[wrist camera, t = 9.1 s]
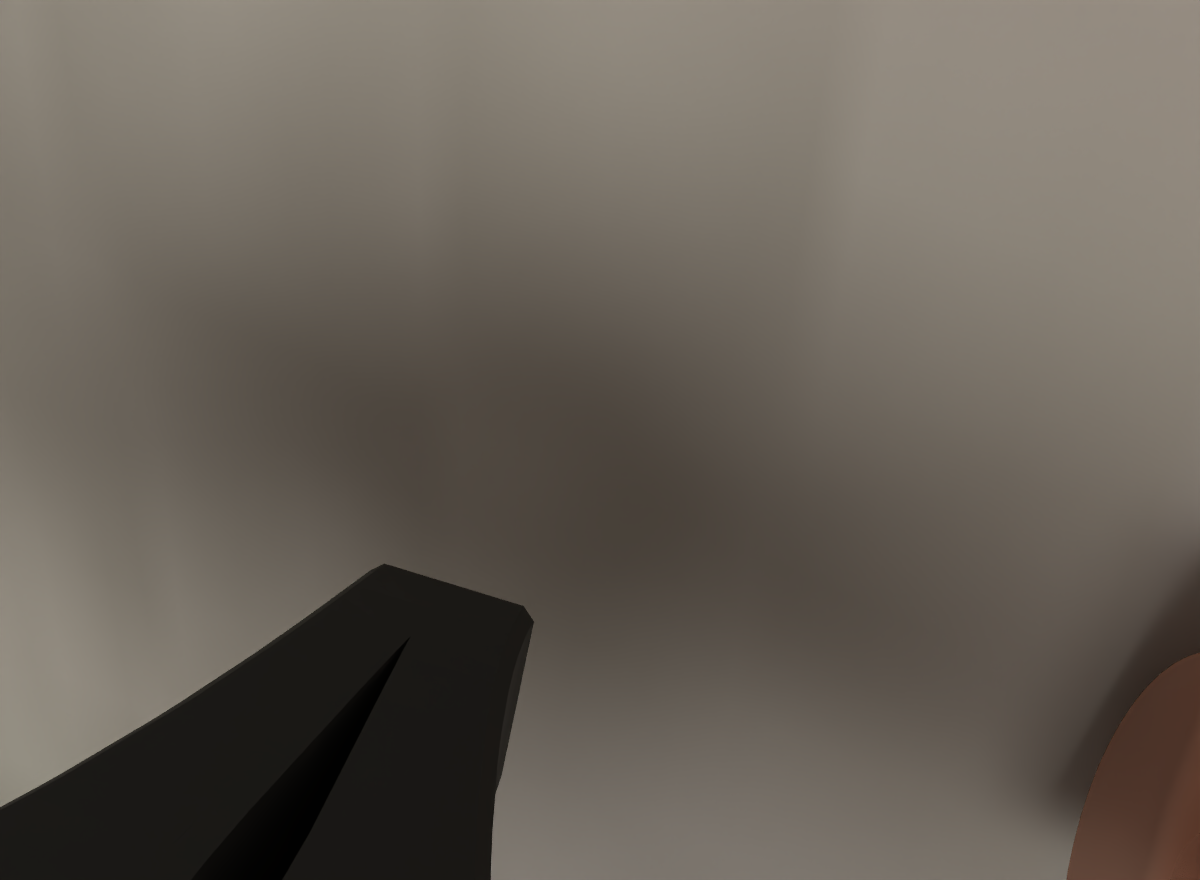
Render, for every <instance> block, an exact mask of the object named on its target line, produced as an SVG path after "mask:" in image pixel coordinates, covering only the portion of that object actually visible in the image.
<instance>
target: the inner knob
mask: <svg viewBox="0 0 1200 880" xmlns="http://www.w3.org/2000/svg"><path fill="white" fill-rule="evenodd" d="M1067 880H1200V653H1197V654H1194V655H1190V656H1187V657H1186V658H1184V659H1182V660H1180V661H1178V662H1176V663H1174V664H1173V665H1171V666H1170V667H1169V668H1167V669H1166V670H1165V671H1163V672H1162V673H1161V674H1160V675H1158V676H1157V677H1156V678H1155V679H1154V680H1153V681H1152V682H1151V683H1150V684H1149V685H1148V686H1147V687H1146V688H1145V690H1144V691H1143V692H1142V693H1141V695H1140V696H1139V697H1138V698H1137V700H1136V701H1135V702H1134V703H1133V705H1132V706H1131V707H1130V709H1129V711H1128V712H1127V714H1126V715H1125V717H1124V718H1123V720H1122V721H1121V723H1120V724H1119V726H1118V728H1117V730H1116V732H1115V733H1114V735H1113V737H1112V739H1111V741H1110V743H1109V744H1108V747H1107V749H1106V751H1105V753H1104V755H1103V757H1102V760H1101V762H1100V764H1099V766H1098V769H1097V771H1096V774H1095V776H1094V779H1093V782H1092V784H1091V787H1090V789H1089V792H1088V795H1087V798H1086V801H1085V805H1084V808H1083V811H1082V814H1081V817H1080V821H1079V825H1078V829H1077V832H1076V836H1075V840H1074V844H1073V849H1072V854H1071V858H1070V863H1069V868H1068V874H1067Z"/></svg>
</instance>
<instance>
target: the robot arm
mask: <svg viewBox="0 0 1200 880" xmlns="http://www.w3.org/2000/svg"><path fill="white" fill-rule="evenodd" d="M533 623H534V621H533V619H532V618H531V617H530V615H529V614H528V612H527V611H526V609H525V608H524V606H521V605H518V604H515V603H511V602H508V601H505V600H502V599H498V598H495V597H492V596H488V595H485V594H482V593H479V592H475V591H472V590H469V589H466V588H462V587H459V586H456V585H452V584H449V583H446V582H443V581H439V580H436V579H433V578H429V577H426V576H423V575H420V574H416V573H413V572H410V571H407V570H403V569H400V568H397V567H393V566H390V565H387V564H383V565H381V566H379V567H377V568H375V569H373V570H371V571H369V572H368V573H366V574H365V575H364V576H362V577H361V578H360V579H358V580H357V581H355V582H354V583H353V584H351V585H350V586H349V587H347V588H346V589H345V590H343V591H342V592H340V593H339V594H338V595H336V596H335V597H334V598H332V599H331V600H330V601H328V602H327V603H325V604H324V605H323V606H321V607H320V608H318V609H317V610H316V611H314V612H313V613H312V614H310V615H309V616H307V617H306V618H305V619H303V620H302V621H300V622H299V623H298V624H296V625H295V626H293V627H292V628H290V629H289V630H288V631H286V632H285V633H283V634H282V635H280V636H279V637H278V638H276V639H275V640H273V641H272V642H270V643H269V644H267V645H266V646H265V647H263V648H262V649H260V650H259V651H257V652H256V653H254V654H253V655H252V656H250V657H248V658H247V659H245V660H244V661H242V662H241V663H239V664H238V665H236V666H235V667H233V668H232V669H230V670H229V671H227V672H226V673H224V674H223V675H221V676H220V677H218V678H217V679H215V680H214V681H212V682H211V683H209V684H207V685H206V686H204V687H203V688H201V689H200V690H198V691H197V692H195V693H194V694H192V695H191V696H189V697H188V698H186V699H185V700H183V701H182V702H180V703H179V704H177V705H175V706H174V707H172V708H171V709H169V710H167V711H166V712H164V713H163V714H161V715H160V716H158V717H156V718H155V719H153V720H151V721H150V722H148V723H146V724H145V725H143V726H141V727H140V728H138V729H136V730H134V731H133V732H131V733H129V734H128V735H126V736H124V737H123V738H121V739H119V740H118V741H116V742H114V743H113V744H111V745H109V746H107V747H106V748H104V749H102V750H101V751H99V752H97V753H96V754H94V755H92V756H91V757H89V758H87V759H85V760H84V761H82V762H80V763H79V764H77V765H75V766H74V767H72V768H70V769H69V770H67V771H65V772H64V773H62V774H60V775H58V776H57V777H55V778H53V779H51V780H49V781H48V782H46V783H44V784H42V785H40V786H39V787H37V788H35V789H33V790H31V791H29V792H28V793H26V794H24V795H22V796H20V797H18V798H17V799H15V800H13V801H11V802H9V803H7V804H6V805H4V806H2V807H0V880H491V851H492V828H493V815H494V803H495V793H496V790H497V787H498V784H499V781H500V778H501V775H502V770H503V766H504V761H505V756H506V751H507V747H508V742H509V737H510V732H511V728H512V723H513V718H514V713H515V709H516V704H517V699H518V694H519V690H520V685H521V680H522V675H523V671H524V666H525V661H526V656H527V652H528V647H529V642H530V637H531V633H532V628H533Z"/></svg>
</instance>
